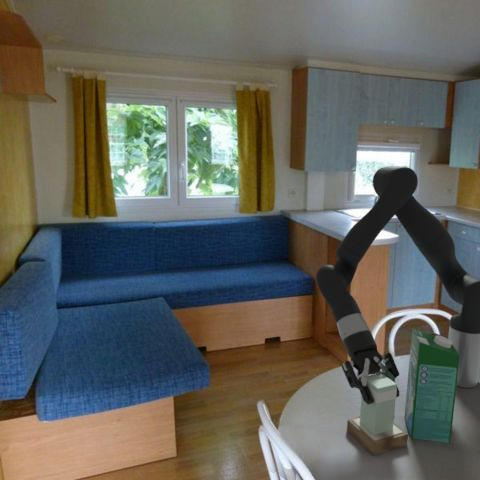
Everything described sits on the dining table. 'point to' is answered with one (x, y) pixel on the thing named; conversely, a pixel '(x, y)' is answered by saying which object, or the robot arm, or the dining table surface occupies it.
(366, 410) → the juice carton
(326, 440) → the dining table surface
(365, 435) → the walnut podium
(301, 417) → the dining table surface
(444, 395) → the milk carton
